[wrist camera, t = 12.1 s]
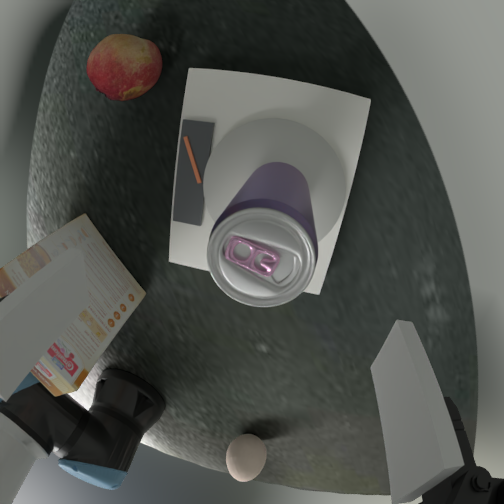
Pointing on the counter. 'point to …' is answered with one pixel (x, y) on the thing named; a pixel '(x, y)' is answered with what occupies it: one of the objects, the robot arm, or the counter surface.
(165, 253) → the counter surface
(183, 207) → the scale
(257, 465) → the egg
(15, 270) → the coffeecake box
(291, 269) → the beverage can
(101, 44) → the fruit
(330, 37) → the counter surface
